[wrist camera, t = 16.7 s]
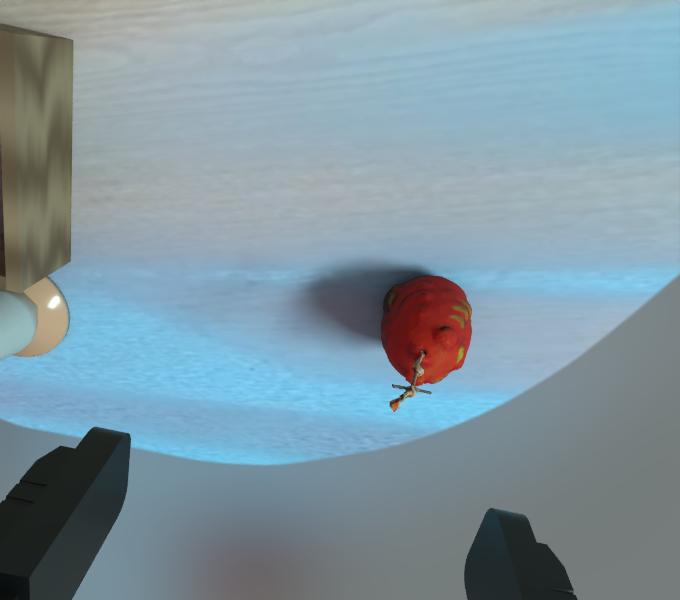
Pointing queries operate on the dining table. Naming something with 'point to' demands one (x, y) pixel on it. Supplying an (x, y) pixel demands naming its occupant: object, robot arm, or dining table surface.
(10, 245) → the walnut box
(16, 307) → the salt shaker
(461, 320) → the red clay folk toy
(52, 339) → the tan round coaster
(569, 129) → the dining table surface
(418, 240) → the dining table surface
